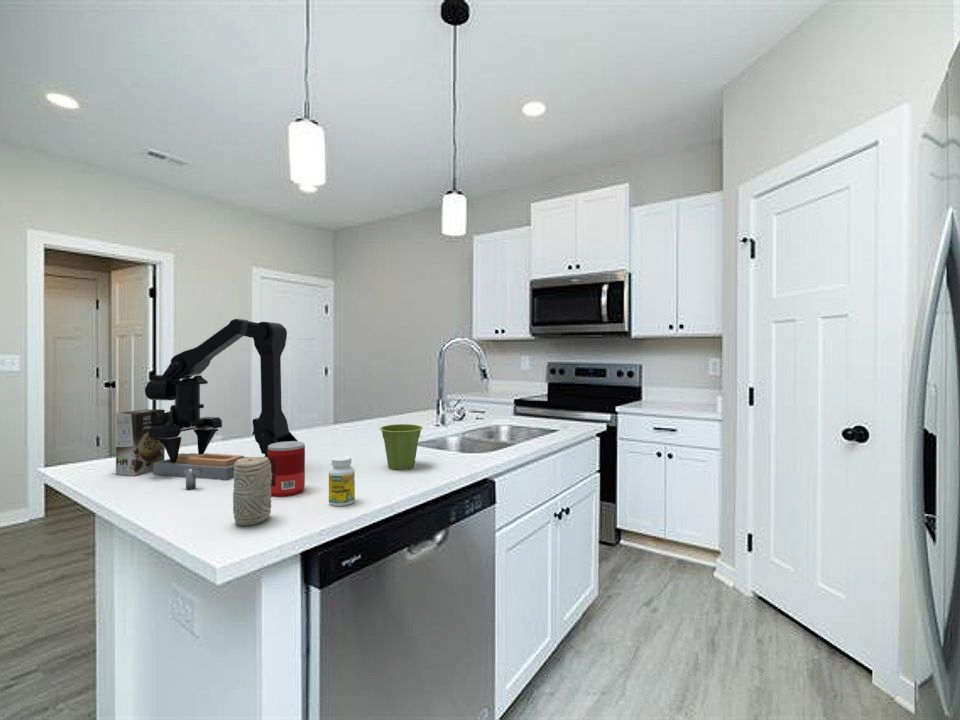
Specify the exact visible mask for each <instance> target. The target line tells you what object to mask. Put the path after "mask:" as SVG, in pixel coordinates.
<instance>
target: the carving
mask: <svg viewBox="0 0 960 720" xmlns="http://www.w3.org/2000/svg"><path fill="white" fill-rule="evenodd" d="M250 457H251V458H242V459H238V460H237V461H236V462H235V463H234V465H235V466H234V469H235V470H234V478H233V489H232V490H233V491H232V505H233V507H232V511H233V512H232V513H233V519H234V522H235V523H236V525H238V526H254V525H257V524H260V523H262V522H263V521H265V520H266V519H268V518H269V517H270V514H271V513H272V510H271V509H272V499H271V498H272V496H271V480H272V472H271V463H270V461H269V459H268V458H267V457H264V456H256V457H255V456H250Z"/></svg>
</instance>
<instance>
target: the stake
mask: <svg viewBox="0 0 960 720" xmlns="http://www.w3.org/2000/svg"><path fill="white" fill-rule="evenodd" d="M184 474H186V477H185V490H186V491H187V490H188V491H191V489H192V490H194V489H197V488H196V487H197V478H196V474H198V475H199V474H203V469H196V468H187V469H184Z"/></svg>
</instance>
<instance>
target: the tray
mask: <svg viewBox="0 0 960 720" xmlns="http://www.w3.org/2000/svg"><path fill="white" fill-rule="evenodd" d="M189 454H196V453H192V452H191V453H189ZM251 457H252V456H244V458H251ZM234 466H235V465H231V466H228V467H219V466H205V465H190V464H176V463H172V462H171V460H170V458H168V459H165V460H163V461H159V462H155V463H153V471H152V472H153V475H154V476H155V475H156V476H166V477H167V476H169V477H181V478H186V474H184V469H187V468H196V469H203V474H199V475H198V474H196V479H205V478H209V479H210V480H218V479H222V480H221V481H228V480H231V478H232V479H234V470H235V469H234ZM209 479H208V480H209Z"/></svg>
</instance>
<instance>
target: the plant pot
mask: <svg viewBox="0 0 960 720" xmlns="http://www.w3.org/2000/svg"><path fill="white" fill-rule="evenodd" d="M423 429H424V427H423V426H421V425H419V424H410V423H409V424H408V423H399V424H397V423H396V424H395V423H394V424H386V425H383V426H380V428H379V430H380V431H381V432H382V433H381V434H382V439H383V441H384V448H385V449H384V450H385V455H386V460H387V467H388V469H390V470H400V471H405V470H411V469H412V468H413V467H414V466H415V463H416V457H417V451H418V445H419V439H420V437H421V436H420V435H421V432H422V430H423Z"/></svg>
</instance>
